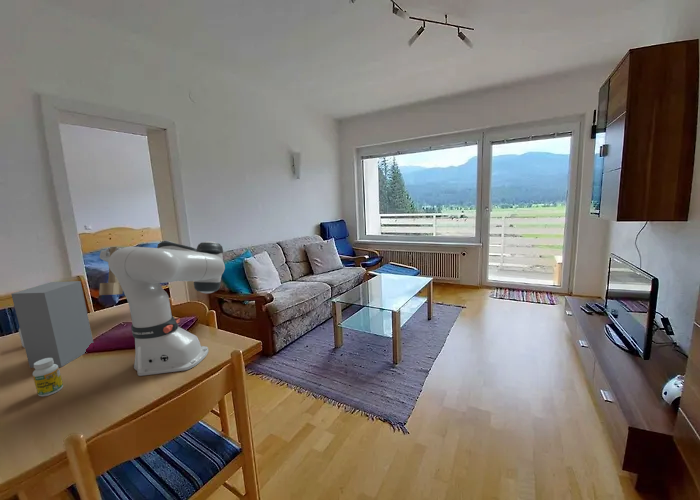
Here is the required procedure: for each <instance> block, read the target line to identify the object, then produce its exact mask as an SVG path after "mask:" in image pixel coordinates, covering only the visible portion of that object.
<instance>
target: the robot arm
mask: <svg viewBox="0 0 700 500" xmlns="http://www.w3.org/2000/svg"><path fill="white" fill-rule="evenodd" d="M223 249H224V248H223V246H222V244H221V243H218V242H216V241H212V240H206V241H203V242H200V243H198V245H197V247H196V248H195V247H192V246H188V245H184V244H179V243H176V242H174V241H170V240H162V241H161V242H159V243H157V246H156V247H146V246H145V247H144V246H126V247H121V248H116V251H115V252H114V253H112V255H111V256H110V247H107V248H106V249H105V250H100V253H99V259H100V260H102V261H104V262H107V265H108V269H109V268H110V270H111V271H112V272H113V274H114V275H115V276H116V277H117V279H118V281H119V283H120V285H121V287H122V289H123V294H124V296H125V298H126V300H127V304H128V306H129V312H130V318H131V323H132V324H131V334H132V337H133V338H134V345H135V346H134V348H135V354H134V355H135V356H134V364H133V368H134V370H135V371H137V376H139V377H142V376H149V375H150V376H151V375H158V374H166V373H172V372H173V373H174V372H175V373H176V372H180V371H181V372H183V371H188V370H190V369H192V368H193V367H195V366H197V365H198V364H200V363H201V362H202V361H203V360H204V359H205V358H206V357H207V355H208V354H209V347H208V346H205V345H201V342H200V340H199V338H198V336H197V335H195V334H194V333H191V332H189V331H188V330H186V329H184V328H182V327H180V326H179V323H181V320H180V319H181V318H178V319H177V320H176V319H175V317H174V316H173V315H172V309H171V303H170V302H171V301H170V296H169V294H168V293H167V291H165V290H164V288H163V286H162V285H161V284H164V283H166V284H167V283H175V282H193V287H194V290H195V291H197V292H200V293H202V294H212V293H216V292H217V291H219V290H220V287H221V285H222V276H223V274H224V272H225V270H226V265H225V262H224V257H223V256H224V255H223V253H224V250H223Z"/></svg>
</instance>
